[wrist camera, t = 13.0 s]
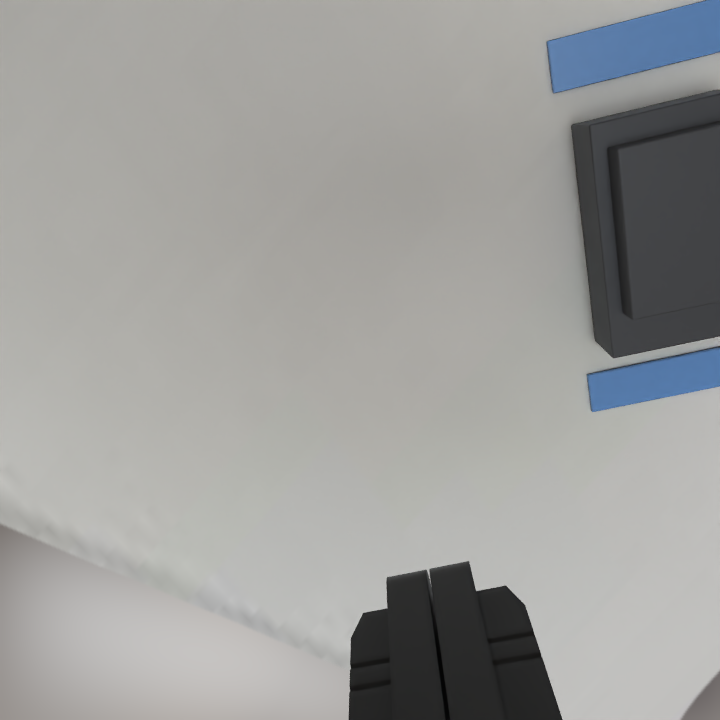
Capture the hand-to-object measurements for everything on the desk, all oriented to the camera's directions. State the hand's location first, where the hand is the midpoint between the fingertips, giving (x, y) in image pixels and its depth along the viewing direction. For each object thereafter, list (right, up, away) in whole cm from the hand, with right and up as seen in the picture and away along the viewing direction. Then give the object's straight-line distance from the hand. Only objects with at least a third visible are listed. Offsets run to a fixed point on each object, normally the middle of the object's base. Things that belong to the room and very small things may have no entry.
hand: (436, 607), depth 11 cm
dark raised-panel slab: (+12, +11, +17) cm, 23 cm away
